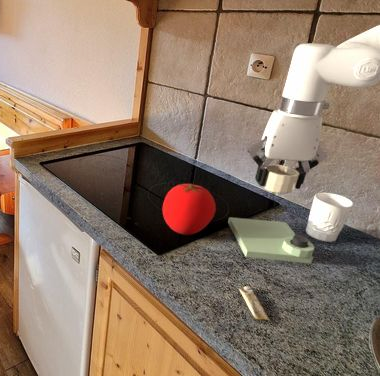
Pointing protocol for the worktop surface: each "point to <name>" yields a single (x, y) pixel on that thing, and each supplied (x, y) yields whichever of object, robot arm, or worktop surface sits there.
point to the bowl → (281, 179)
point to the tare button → (299, 241)
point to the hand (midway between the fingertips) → (277, 184)
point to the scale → (269, 240)
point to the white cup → (328, 216)
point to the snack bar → (253, 303)
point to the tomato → (188, 208)
